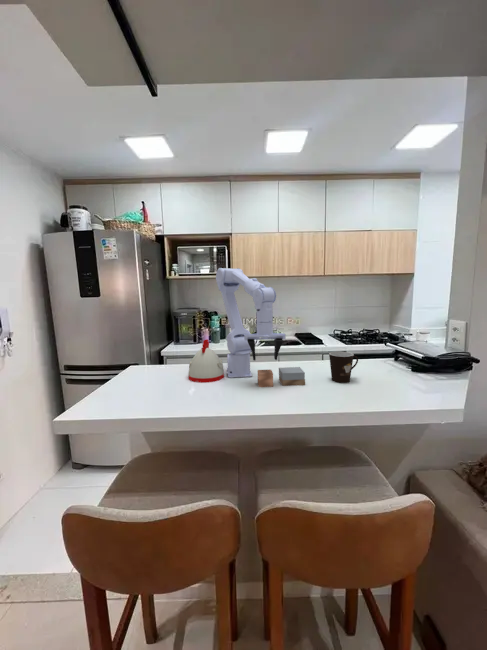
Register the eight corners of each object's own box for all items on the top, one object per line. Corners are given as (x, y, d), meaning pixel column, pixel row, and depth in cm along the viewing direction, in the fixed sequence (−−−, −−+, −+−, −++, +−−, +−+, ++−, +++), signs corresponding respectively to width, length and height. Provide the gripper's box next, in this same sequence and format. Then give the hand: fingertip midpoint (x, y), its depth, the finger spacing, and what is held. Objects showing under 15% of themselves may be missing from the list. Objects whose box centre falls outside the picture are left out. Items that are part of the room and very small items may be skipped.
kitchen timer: (227, 373, 127) (226, 337, 125) (219, 383, 113) (218, 343, 112) (194, 372, 129) (193, 337, 127) (183, 382, 115) (182, 343, 114)
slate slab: (282, 380, 108) (282, 373, 108) (278, 374, 116) (278, 367, 116) (304, 379, 109) (304, 372, 109) (299, 373, 117) (299, 366, 117)
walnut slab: (282, 387, 109) (282, 380, 108) (279, 380, 117) (278, 374, 116) (304, 386, 109) (305, 379, 109) (299, 379, 117) (299, 373, 117)
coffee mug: (331, 384, 110) (332, 356, 109) (326, 377, 118) (326, 351, 117) (364, 383, 109) (365, 356, 108) (356, 376, 118) (357, 351, 117)
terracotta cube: (259, 387, 108) (258, 373, 107) (257, 383, 113) (257, 369, 112) (273, 386, 108) (273, 373, 107) (271, 382, 113) (271, 369, 112)
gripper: (244, 323, 103) (245, 362, 105) (287, 322, 104) (287, 361, 106) (243, 321, 110) (244, 358, 112) (283, 320, 111) (283, 357, 113)
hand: (265, 359), depth 109 cm, fingers open, 7 cm apart
